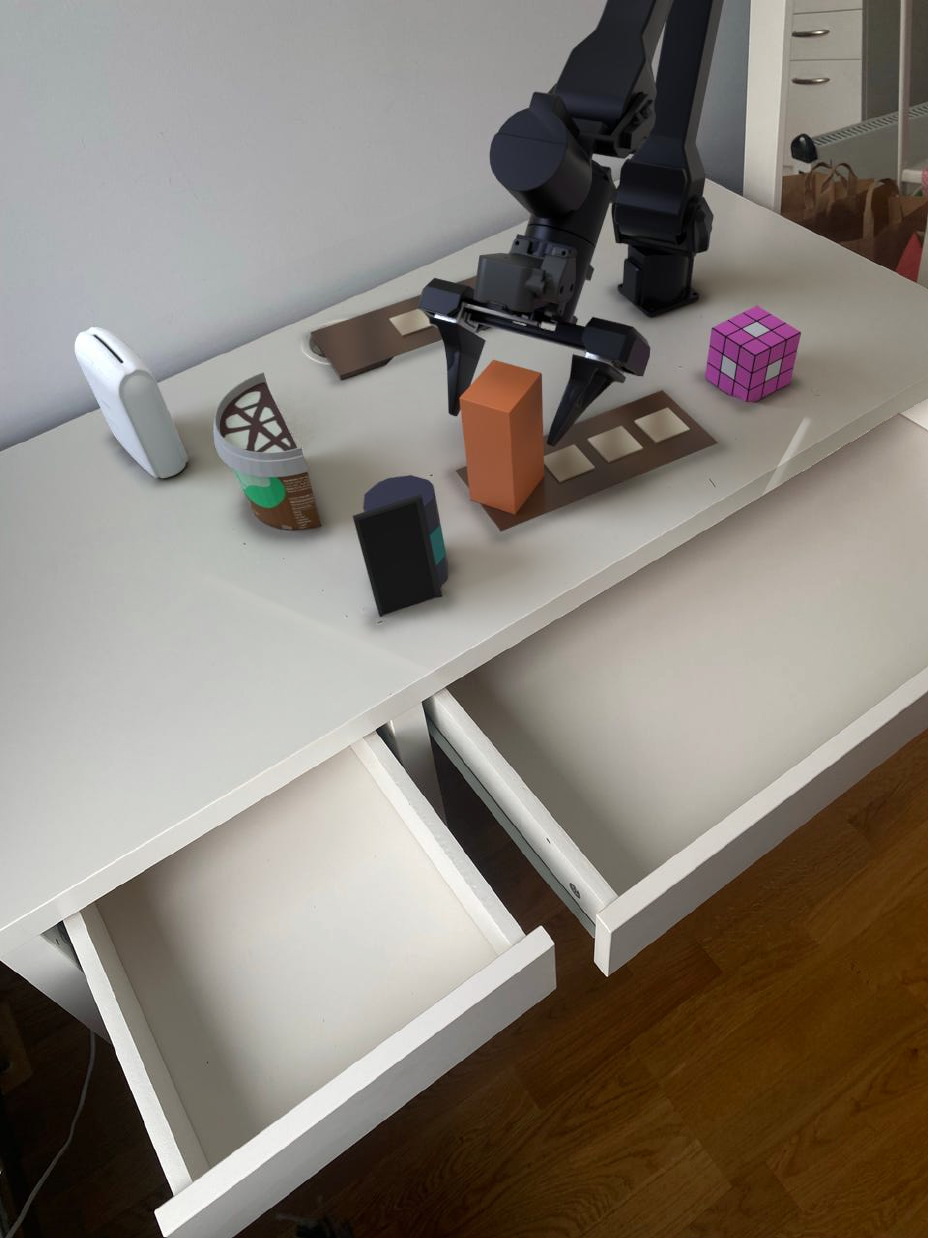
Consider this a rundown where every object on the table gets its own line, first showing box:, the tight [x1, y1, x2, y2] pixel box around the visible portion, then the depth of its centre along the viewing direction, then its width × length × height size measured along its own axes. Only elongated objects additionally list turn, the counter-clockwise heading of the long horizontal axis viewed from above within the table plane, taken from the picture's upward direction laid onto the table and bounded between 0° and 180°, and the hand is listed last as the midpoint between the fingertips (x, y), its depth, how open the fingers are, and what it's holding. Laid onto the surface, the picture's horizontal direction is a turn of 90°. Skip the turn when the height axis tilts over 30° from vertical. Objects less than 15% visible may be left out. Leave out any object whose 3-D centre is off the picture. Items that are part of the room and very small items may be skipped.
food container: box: [213, 371, 322, 532], centre depth 81 cm, size 12×6×10 cm, turn 23°
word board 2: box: [455, 389, 719, 532], centre depth 85 cm, size 22×9×1 cm, turn 116°
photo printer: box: [74, 326, 189, 479], centre depth 87 cm, size 10×4×12 cm, turn 39°
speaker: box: [352, 474, 449, 618], centre depth 74 cm, size 8×6×10 cm
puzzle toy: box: [704, 305, 802, 403], centre depth 88 cm, size 6×6×6 cm
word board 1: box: [310, 275, 503, 381], centre depth 101 cm, size 24×9×1 cm, turn 116°
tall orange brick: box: [460, 359, 544, 515], centre depth 79 cm, size 6×4×11 cm
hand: (500, 430), depth 77 cm, fingers open, 9 cm apart
